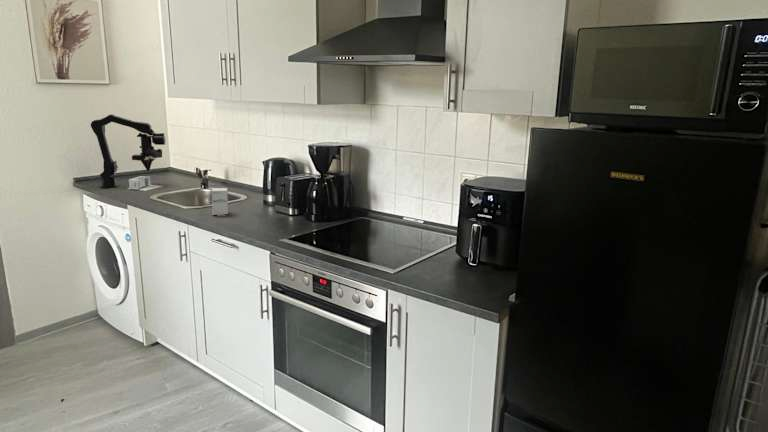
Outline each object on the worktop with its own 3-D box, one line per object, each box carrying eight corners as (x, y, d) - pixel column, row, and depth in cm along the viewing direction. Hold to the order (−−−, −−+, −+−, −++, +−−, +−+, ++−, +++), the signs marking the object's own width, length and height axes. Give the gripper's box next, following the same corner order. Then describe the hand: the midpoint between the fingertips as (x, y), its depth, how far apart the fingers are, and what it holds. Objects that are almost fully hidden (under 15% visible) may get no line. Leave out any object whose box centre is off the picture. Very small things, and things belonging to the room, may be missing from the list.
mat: (128, 188, 304) (128, 188, 304) (146, 184, 318) (146, 184, 318) (144, 190, 301) (144, 190, 301) (162, 186, 315) (162, 186, 315)
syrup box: (137, 180, 300) (150, 176, 314) (127, 179, 300) (141, 175, 314) (138, 189, 301) (151, 185, 315) (128, 189, 302) (142, 184, 316)
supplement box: (212, 216, 251) (211, 190, 248) (212, 212, 258) (211, 187, 255) (228, 215, 253) (227, 190, 250) (228, 212, 260) (227, 187, 257)
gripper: (146, 147, 295) (147, 174, 299) (168, 144, 312) (170, 169, 316) (130, 145, 298) (132, 172, 302) (153, 142, 316) (155, 168, 319)
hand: (148, 170), depth 310 cm, fingers closed
